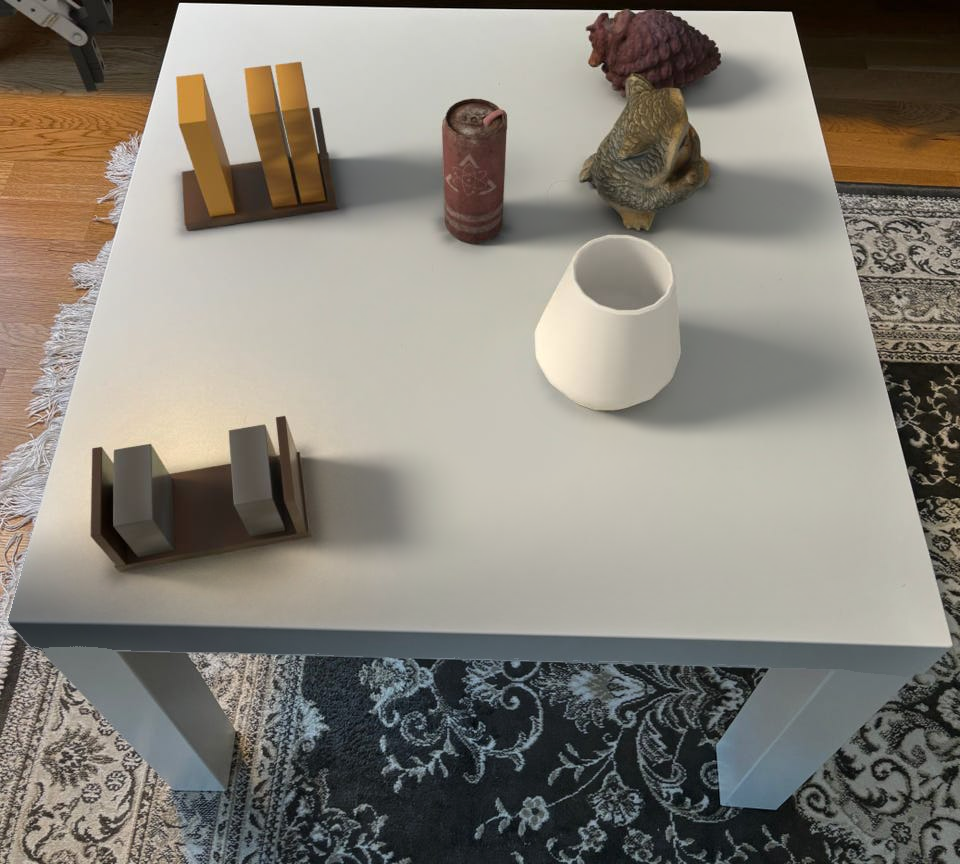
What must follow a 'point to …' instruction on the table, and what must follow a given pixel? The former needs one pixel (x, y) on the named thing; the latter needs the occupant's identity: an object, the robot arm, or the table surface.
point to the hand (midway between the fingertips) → (29, 92)
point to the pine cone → (651, 49)
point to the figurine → (647, 155)
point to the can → (474, 169)
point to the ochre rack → (273, 156)
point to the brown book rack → (198, 501)
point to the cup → (612, 325)
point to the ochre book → (205, 144)
